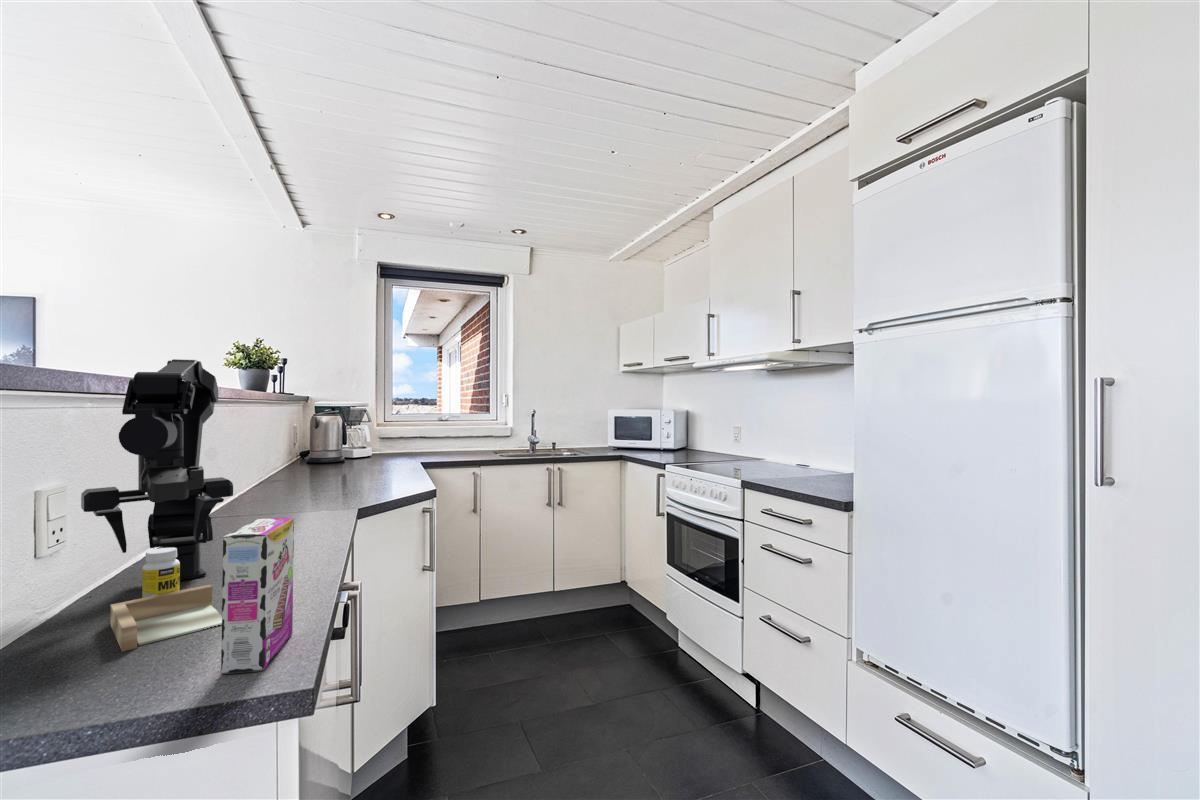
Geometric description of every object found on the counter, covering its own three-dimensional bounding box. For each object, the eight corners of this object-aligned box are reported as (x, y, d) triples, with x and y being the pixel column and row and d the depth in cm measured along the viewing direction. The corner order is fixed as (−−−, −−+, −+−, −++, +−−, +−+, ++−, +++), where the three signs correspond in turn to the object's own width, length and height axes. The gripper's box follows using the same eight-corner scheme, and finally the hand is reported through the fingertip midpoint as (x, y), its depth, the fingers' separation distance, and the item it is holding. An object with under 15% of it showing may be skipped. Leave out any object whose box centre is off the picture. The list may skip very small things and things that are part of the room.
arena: (110, 625, 80) (110, 604, 80) (209, 603, 89) (209, 584, 89) (122, 651, 72) (122, 628, 72) (230, 624, 80) (230, 603, 80)
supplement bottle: (158, 609, 87) (158, 555, 87) (134, 607, 88) (134, 553, 88) (187, 598, 91) (187, 547, 91) (163, 596, 92) (163, 545, 92)
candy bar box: (266, 671, 66) (266, 534, 66) (219, 676, 65) (219, 536, 65) (295, 633, 77) (295, 515, 77) (255, 637, 76) (255, 517, 76)
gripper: (87, 458, 77) (87, 570, 77) (242, 449, 91) (242, 544, 91) (80, 452, 85) (81, 554, 85) (224, 445, 99) (224, 533, 99)
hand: (161, 546), depth 90 cm, fingers open, 9 cm apart
